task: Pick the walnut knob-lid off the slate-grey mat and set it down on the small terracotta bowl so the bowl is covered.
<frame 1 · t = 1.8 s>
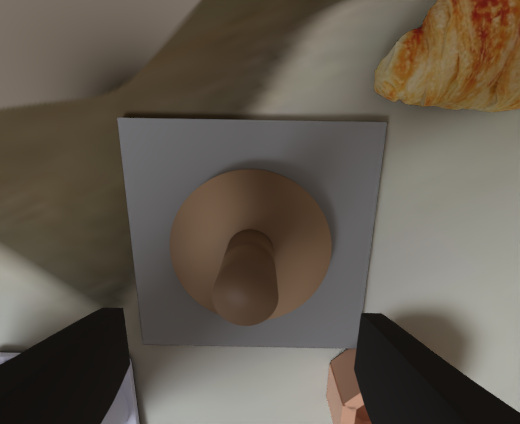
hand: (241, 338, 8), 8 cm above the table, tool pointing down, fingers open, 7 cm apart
lid: (250, 246, 15), resting on mat
bowl: (379, 381, 18), on the table
mat: (251, 243, 16), on the table
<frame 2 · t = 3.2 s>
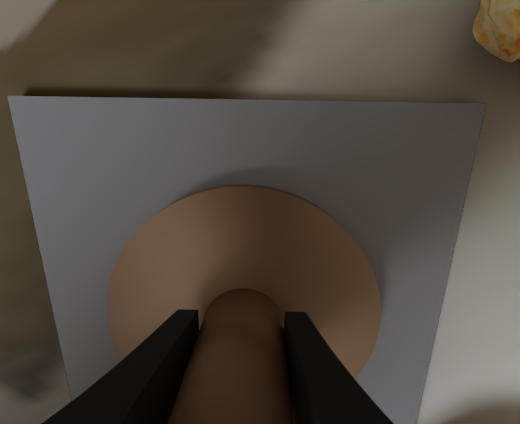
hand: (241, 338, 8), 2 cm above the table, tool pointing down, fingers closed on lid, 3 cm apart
lid: (244, 308, 9), resting on mat, touching gripper
mat: (245, 302, 10), on the table
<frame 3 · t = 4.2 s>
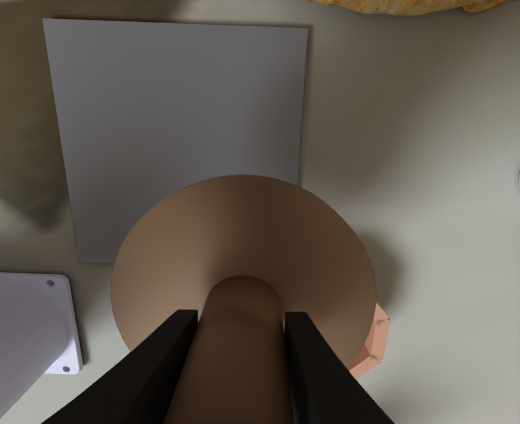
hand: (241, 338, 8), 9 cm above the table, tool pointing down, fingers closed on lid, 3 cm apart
lid: (244, 295, 10), point 8 cm above the table, touching gripper
bowl: (315, 307, 18), on the table
mat: (182, 158, 16), on the table
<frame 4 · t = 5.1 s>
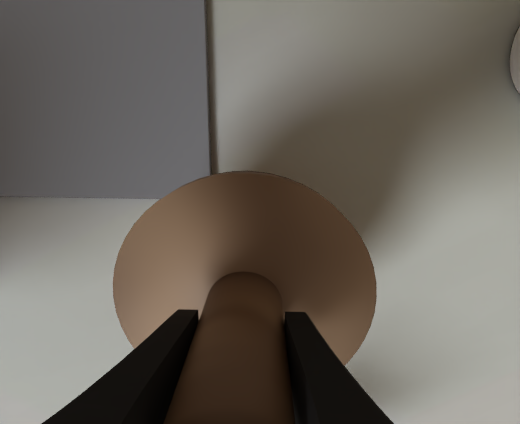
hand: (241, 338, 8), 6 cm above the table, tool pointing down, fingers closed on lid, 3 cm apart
lid: (245, 291, 10), point 4 cm above the table, touching gripper
mat: (51, 42, 12), on the table
when the fingers open (6 cm above the table, at t = 5.5 s): lid stays where it is, resting on bowl.
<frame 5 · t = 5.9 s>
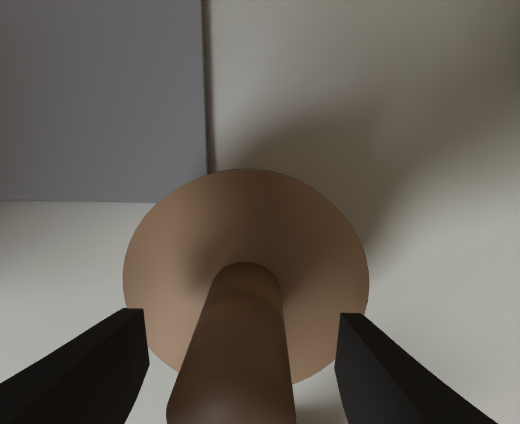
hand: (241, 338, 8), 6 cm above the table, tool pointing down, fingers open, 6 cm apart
lid: (246, 283, 10), point 3 cm above the table, touching bowl
mat: (36, 34, 11), on the table
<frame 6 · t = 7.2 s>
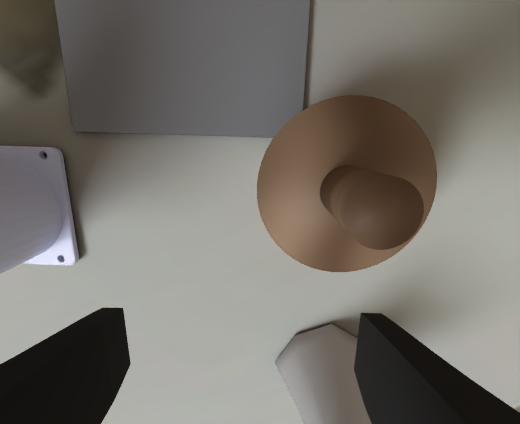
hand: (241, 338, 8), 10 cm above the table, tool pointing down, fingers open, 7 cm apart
lid: (341, 188, 14), point 3 cm above the table, touching bowl
flask: (322, 361, 21), on the table
mat: (183, 4, 15), on the table
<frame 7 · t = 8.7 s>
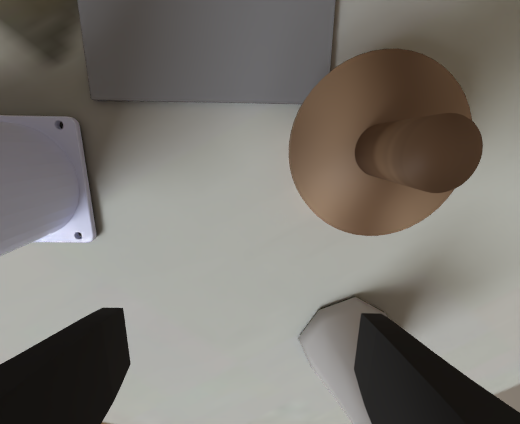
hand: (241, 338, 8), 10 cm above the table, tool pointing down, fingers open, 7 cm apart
lid: (373, 150, 14), point 3 cm above the table, touching bowl
flask: (345, 336, 21), on the table
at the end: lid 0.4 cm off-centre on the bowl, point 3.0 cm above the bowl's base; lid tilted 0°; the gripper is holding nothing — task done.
